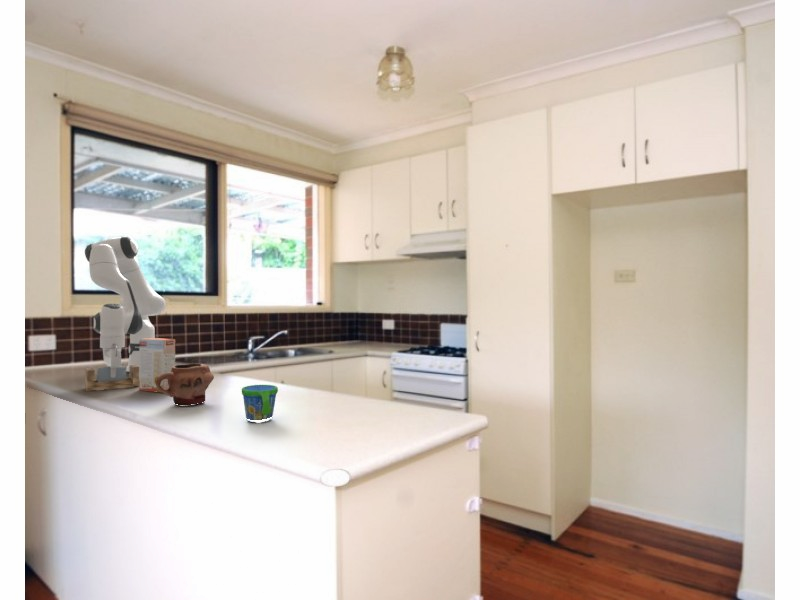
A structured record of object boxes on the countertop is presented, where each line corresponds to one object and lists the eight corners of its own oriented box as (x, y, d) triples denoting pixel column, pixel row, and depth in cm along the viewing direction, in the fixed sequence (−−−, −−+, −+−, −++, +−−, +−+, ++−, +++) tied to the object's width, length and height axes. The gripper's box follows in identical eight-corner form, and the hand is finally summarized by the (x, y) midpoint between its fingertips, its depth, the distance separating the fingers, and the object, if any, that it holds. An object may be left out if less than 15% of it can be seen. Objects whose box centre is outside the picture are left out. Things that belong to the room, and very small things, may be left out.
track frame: (135, 383, 208) (135, 364, 208) (139, 386, 202) (139, 366, 202) (84, 388, 197) (85, 368, 197) (87, 391, 190) (87, 370, 190)
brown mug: (167, 412, 156) (168, 369, 156) (147, 407, 163) (147, 366, 163) (221, 402, 173) (221, 363, 173) (200, 398, 179) (201, 360, 179)
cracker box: (175, 391, 193) (176, 338, 193) (162, 393, 187) (163, 339, 187) (151, 388, 199) (152, 337, 199) (138, 390, 193) (138, 338, 193)
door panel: (125, 380, 203) (125, 366, 203) (126, 381, 201) (126, 366, 201) (97, 382, 197) (97, 367, 197) (97, 383, 195) (98, 368, 195)
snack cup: (281, 425, 142) (282, 390, 142) (244, 429, 138) (244, 393, 138) (272, 413, 156) (273, 382, 156) (238, 416, 152) (239, 384, 152)
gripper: (125, 344, 193) (125, 379, 193) (117, 341, 209) (117, 373, 209) (107, 345, 189) (106, 381, 189) (100, 341, 205) (100, 374, 205)
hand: (112, 376), depth 199 cm, fingers closed on door panel, 2 cm apart
